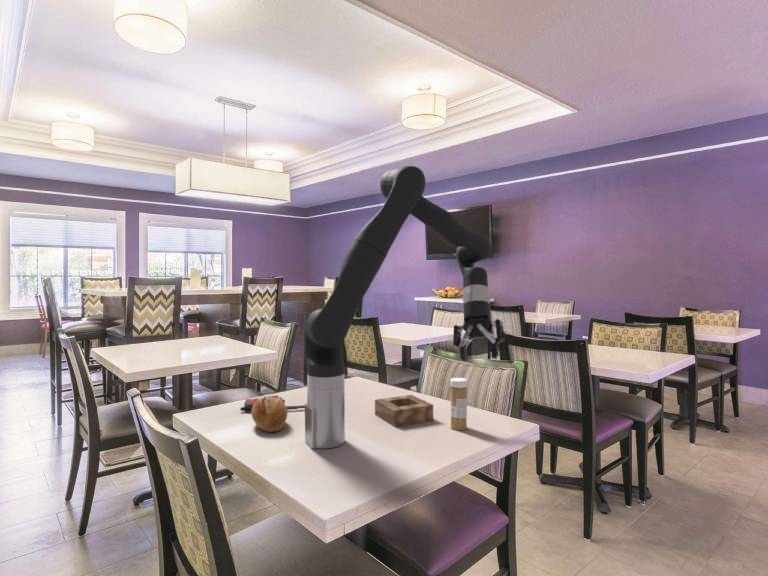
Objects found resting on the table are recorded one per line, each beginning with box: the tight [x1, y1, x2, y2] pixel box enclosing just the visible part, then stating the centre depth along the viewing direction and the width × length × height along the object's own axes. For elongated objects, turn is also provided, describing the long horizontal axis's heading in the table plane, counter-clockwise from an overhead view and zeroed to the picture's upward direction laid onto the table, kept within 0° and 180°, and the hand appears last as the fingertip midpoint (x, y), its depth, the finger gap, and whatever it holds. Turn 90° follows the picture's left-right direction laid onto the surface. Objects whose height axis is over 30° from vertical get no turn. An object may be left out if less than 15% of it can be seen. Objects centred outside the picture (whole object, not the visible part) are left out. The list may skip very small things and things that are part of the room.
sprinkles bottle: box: [450, 377, 468, 431], centre depth 122 cm, size 5×5×14 cm
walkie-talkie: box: [240, 393, 305, 413], centre depth 140 cm, size 9×4×20 cm
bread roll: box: [250, 396, 288, 433], centre depth 123 cm, size 10×15×8 cm, turn 21°
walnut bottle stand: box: [374, 394, 434, 428], centre depth 131 cm, size 13×13×4 cm
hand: (479, 359), depth 122 cm, fingers open, 8 cm apart
